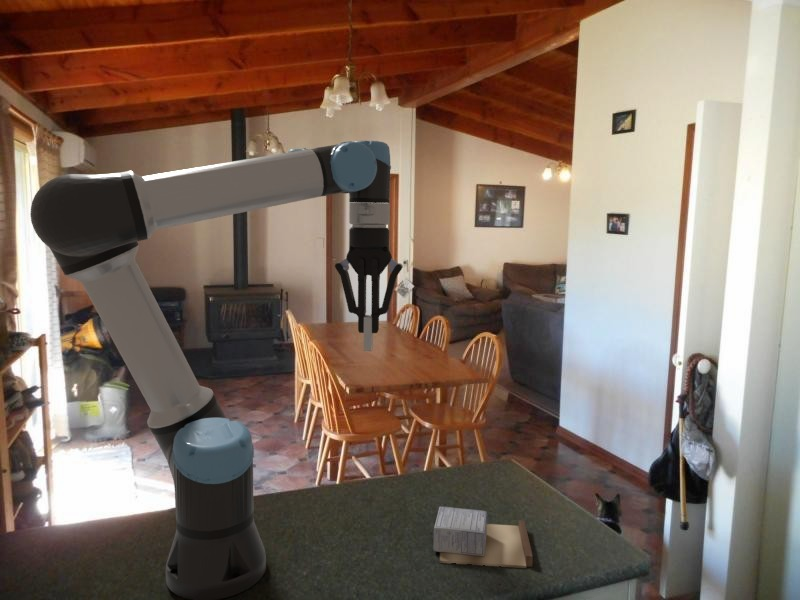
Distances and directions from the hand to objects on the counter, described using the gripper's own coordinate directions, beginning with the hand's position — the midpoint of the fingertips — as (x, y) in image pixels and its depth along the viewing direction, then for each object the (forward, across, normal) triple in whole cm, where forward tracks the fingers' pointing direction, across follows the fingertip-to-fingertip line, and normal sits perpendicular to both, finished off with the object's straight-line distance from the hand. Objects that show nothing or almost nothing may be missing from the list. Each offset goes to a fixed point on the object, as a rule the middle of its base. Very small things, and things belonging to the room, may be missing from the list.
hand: (368, 349), depth 120 cm
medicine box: (+28, +14, -15) cm, 35 cm away
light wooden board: (+30, +22, -15) cm, 40 cm away
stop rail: (+30, +30, -15) cm, 45 cm away
